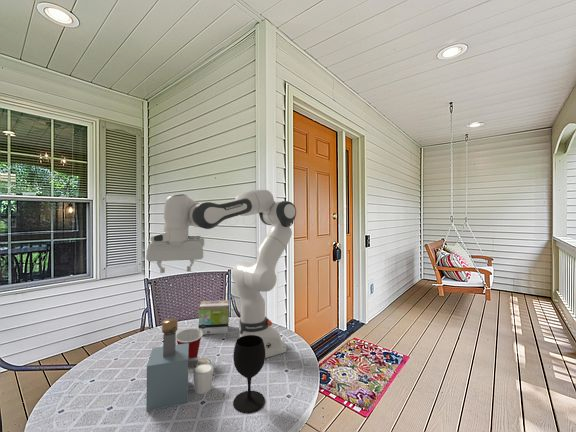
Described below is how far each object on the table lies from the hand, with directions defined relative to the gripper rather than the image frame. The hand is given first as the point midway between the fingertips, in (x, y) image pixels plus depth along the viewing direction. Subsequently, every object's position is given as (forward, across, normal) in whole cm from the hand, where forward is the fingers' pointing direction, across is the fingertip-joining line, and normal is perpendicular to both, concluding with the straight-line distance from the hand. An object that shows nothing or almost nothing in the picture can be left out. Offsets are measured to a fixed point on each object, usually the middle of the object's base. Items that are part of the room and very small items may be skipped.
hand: (175, 271), depth 103 cm
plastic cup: (+39, -5, -6) cm, 40 cm away
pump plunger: (+25, +1, +13) cm, 28 cm away
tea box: (+39, -17, -35) cm, 55 cm away
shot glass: (+39, -10, +13) cm, 43 cm away
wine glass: (+39, -24, +25) cm, 52 cm away
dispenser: (+39, 0, +13) cm, 41 cm away
